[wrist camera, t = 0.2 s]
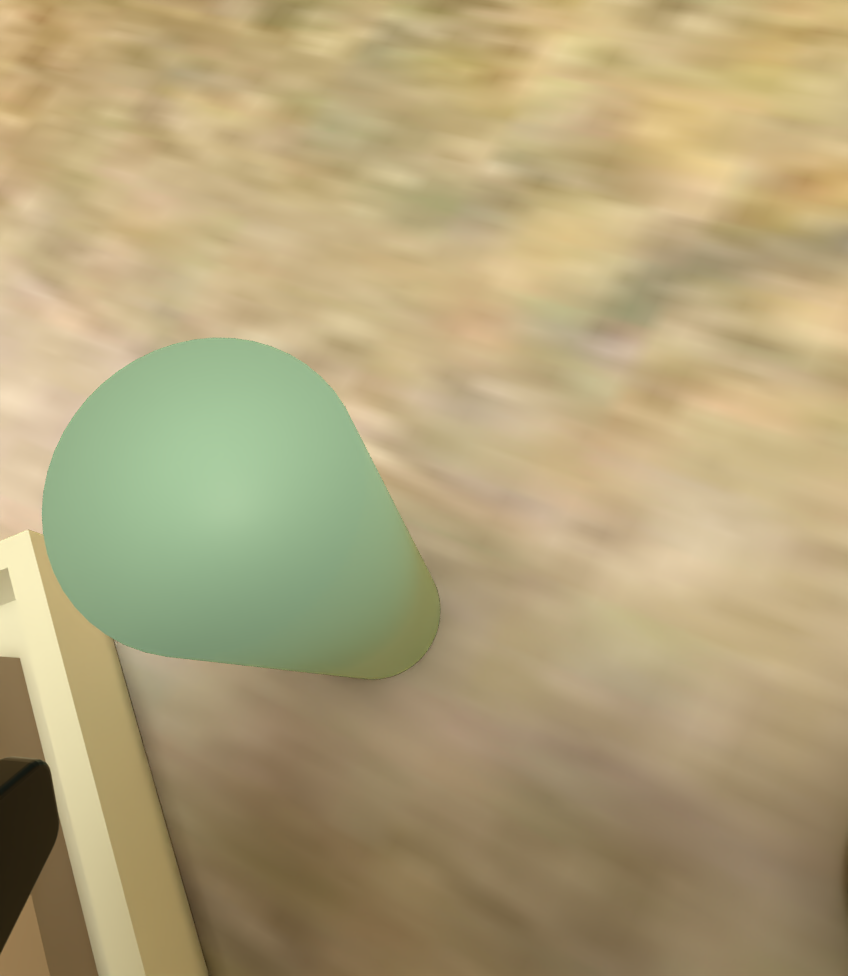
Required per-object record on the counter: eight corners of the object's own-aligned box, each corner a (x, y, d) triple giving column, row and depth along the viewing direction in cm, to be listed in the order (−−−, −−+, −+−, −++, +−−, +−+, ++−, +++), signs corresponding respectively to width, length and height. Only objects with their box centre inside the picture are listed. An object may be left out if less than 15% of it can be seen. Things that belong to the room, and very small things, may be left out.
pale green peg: (461, 647, 22) (416, 575, 9) (335, 701, 22) (90, 713, 9) (409, 524, 23) (299, 290, 10) (289, 575, 23) (8, 410, 10)
